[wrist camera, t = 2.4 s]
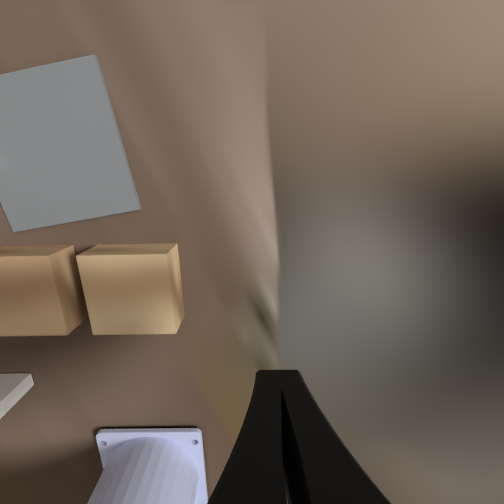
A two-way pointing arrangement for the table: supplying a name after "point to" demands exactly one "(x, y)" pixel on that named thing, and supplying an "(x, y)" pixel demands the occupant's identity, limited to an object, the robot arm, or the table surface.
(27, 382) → the frame
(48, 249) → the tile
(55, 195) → the slate coaster
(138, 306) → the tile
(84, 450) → the table surface
